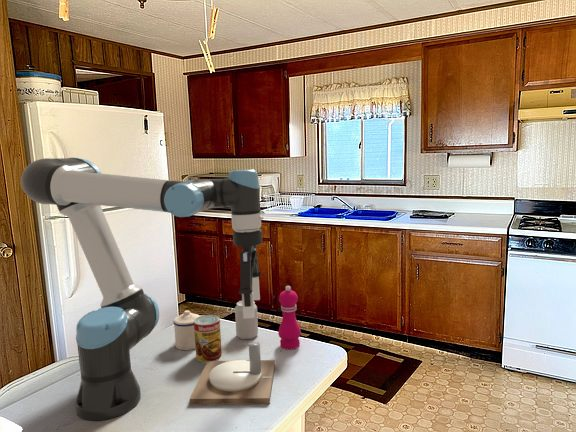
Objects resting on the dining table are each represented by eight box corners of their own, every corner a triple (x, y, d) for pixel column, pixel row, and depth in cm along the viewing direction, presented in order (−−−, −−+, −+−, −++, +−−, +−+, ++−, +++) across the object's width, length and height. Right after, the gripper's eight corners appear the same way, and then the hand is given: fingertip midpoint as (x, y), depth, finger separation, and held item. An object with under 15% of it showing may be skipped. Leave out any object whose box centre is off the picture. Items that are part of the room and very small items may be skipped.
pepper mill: (299, 351, 134) (297, 289, 131) (276, 349, 135) (274, 289, 133) (302, 341, 141) (301, 282, 138) (281, 340, 142) (279, 282, 140)
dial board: (190, 404, 107) (189, 398, 106) (207, 365, 126) (207, 360, 126) (269, 403, 106) (269, 397, 106) (275, 364, 126) (274, 359, 125)
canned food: (204, 365, 127) (201, 326, 125) (191, 356, 133) (188, 319, 131) (226, 356, 132) (224, 319, 130) (213, 348, 138) (211, 313, 136)
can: (249, 342, 142) (247, 307, 140) (231, 337, 146) (230, 304, 144) (262, 334, 148) (261, 300, 146) (245, 330, 152) (243, 297, 150)
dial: (204, 391, 109) (202, 356, 108) (215, 365, 123) (213, 334, 122) (258, 391, 109) (257, 356, 107) (263, 364, 122) (262, 333, 121)
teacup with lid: (204, 348, 138) (202, 314, 137) (175, 352, 136) (172, 317, 134) (201, 334, 150) (199, 302, 148) (174, 338, 147) (172, 305, 146)
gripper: (256, 237, 98) (261, 326, 101) (265, 221, 122) (269, 293, 125) (224, 239, 98) (230, 327, 101) (239, 222, 123) (244, 293, 126)
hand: (252, 308), depth 113 cm, fingers open, 13 cm apart
